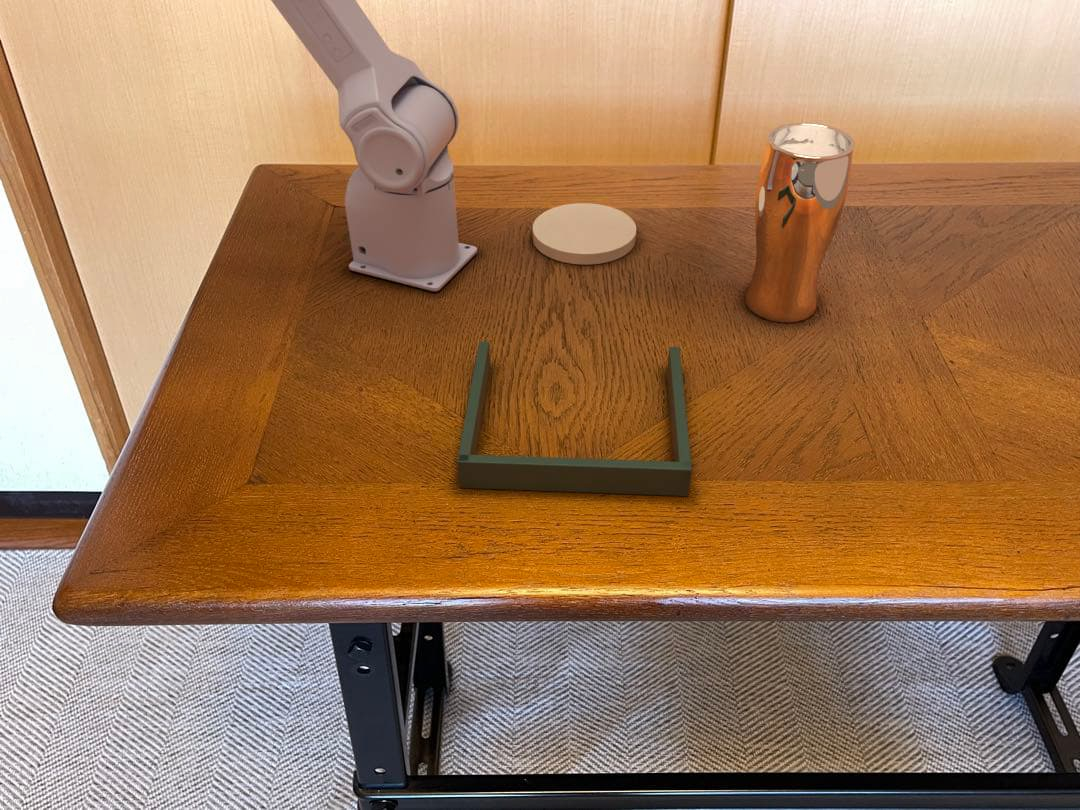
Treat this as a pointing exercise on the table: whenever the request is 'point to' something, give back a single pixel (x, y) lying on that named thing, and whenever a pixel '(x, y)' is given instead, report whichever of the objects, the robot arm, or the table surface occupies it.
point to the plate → (584, 233)
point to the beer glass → (797, 216)
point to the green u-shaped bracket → (575, 470)
